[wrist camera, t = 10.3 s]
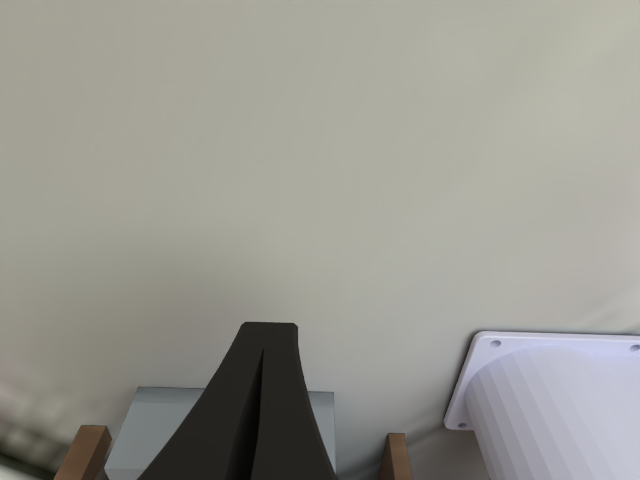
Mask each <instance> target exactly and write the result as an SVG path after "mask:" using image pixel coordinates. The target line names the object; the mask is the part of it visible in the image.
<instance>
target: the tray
mask: <svg viewBox="0 0 640 480" xmlns="http://www.w3.org/2000/svg"><path fill="white" fill-rule="evenodd" d="M204 390H205V389H193V388H158V387H139V388H138V390H137V392H136V395H135V397H134V399H133V402H132V404H131V406H130V409H129V411H128V413H127V416H126V418H125V420H124V423H123V425H122V427H121V430H120V432H119V434H118V437H117V439H116V441H115V444H114V446H113V448H112V451H111V453H110V455H109V458H108V460H107V462H106V465H105V467H104V470H105V472H106V474H107V476H108V478H109V480H137V479H138V477H139V476H140V475H141V474H142V473H143V472H144V470H145V469H146V468H147V467H148V466H149V464H150V463H151V462H152V461H153V459H154V458H155V457H156V456H157V455H158V453H159V452H160V451H161V450H162V448H163V447H164V446H165V444H166V443H167V442H168V441H169V439H170V438H171V437H172V435H173V434H174V433H175V431H176V430H177V429H178V427H179V426H180V424H181V423H182V422H183V420H184V419H185V417H186V416H187V415H188V413H189V412H190V410H191V409H192V408H193V406H194V405H195V403H196V402H197V401H198V399H199V398H200V396H201V395H202V393H203V392H204ZM308 395H309V399H310V403H311V406H312V410H313V413H314V416H315V419H316V422H317V425H318V428H319V431H320V434H321V437H322V440H323V443H324V446H325V448H326V451H327V454H328V456H329V459H330V461H331V464H332V467H333V469H334V472H335V474H336V461H335V427H334V392H308Z"/></svg>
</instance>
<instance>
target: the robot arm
mask: <svg viewBox="0 0 640 480" xmlns="http://www.w3.org/2000/svg"><path fill="white" fill-rule="evenodd" d="M444 424H445V427H446V428H448V429H450V430H474V432H475V435H476V438H477V441H478V444H479V447H480V450H481V453H482V456H483V459H484V462H485V465H486V468H487V471H488V475H489V478H490V480H640V336H624V335H592V334H559V333H527V332H495V331H482V332H479V333H477V334H476V335H475V336H474V338H473V340H472V343H471V346H470V348H469V351H468V354H467V357H466V360H465V362H464V365H463V368H462V371H461V374H460V376H459V379H458V382H457V385H456V387H455V390H454V393H453V396H452V399H451V401H450V404H449V407H448V410H447V412H446V415H445V418H444ZM137 480H338V479H337V477H336V474H335V472H334V469H333V467H332V464H331V461H330V459H329V456H328V454H327V451H326V448H325V446H324V443H323V440H322V437H321V434H320V431H319V428H318V425H317V422H316V419H315V416H314V413H313V410H312V406H311V403H310V399H309V395H308V392H307V388H306V384H305V380H304V376H303V372H302V367H301V361H300V356H299V348H298V326H297V325H295V324H294V323H275V322H245V323H243V324H242V325H241V327H240V329H239V331H238V333H237V335H236V337H235V339H234V341H233V343H232V345H231V347H230V349H229V350H228V352H227V354H226V356H225V358H224V359H223V361H222V363H221V364H220V366H219V368H218V369H217V371H216V373H215V374H214V376H213V377H212V379H211V380H210V382H209V384H208V385H207V387H206V388H205V390H204V392H203V393H202V395H201V396H200V398H199V399H198V401H197V402H196V403H195V405H194V406H193V408H192V409H191V410H190V412H189V413H188V415H187V416H186V417H185V419H184V420H183V422H182V423H181V424H180V426H179V427H178V429H177V430H176V431H175V433H174V434H173V435H172V437H171V438H170V439H169V441H168V442H167V443H166V444H165V446H164V447H163V448H162V450H161V451H160V452H159V453H158V455H157V456H156V457H155V458H154V459H153V461H152V462H151V463H150V464H149V466H148V467H147V468H146V469H145V470H144V472H143V473H142V474H141V475H140V476H139V477H138V479H137Z"/></svg>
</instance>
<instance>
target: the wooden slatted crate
mask: <svg viewBox="0 0 640 480" xmlns="http://www.w3.org/2000/svg"><path fill="white" fill-rule="evenodd" d="M111 440H112V439H111V437H110V435H109V432H108V430H107V428H106V426H81V427H80V429H79V431H78V433H77V435H76V437H75V439H74V441H73V443H72V444H71V446H70V448H69V450H68V452H67V454H66V456H65V458H64V460H63V462H62V464H61V466H60V468H59V470H58V472H57V474H56V475H55V477H54V479H53V480H94V479H95V477H96V475H97V472H98V470H99V468H100V465H101V463H102V461H103V459H104V456H105V454H106V452H107V449H108V447H109V445H110V443H111ZM378 480H413V479H412V474H411V468H410V462H409V457H408V451H407V445H406V440H405V434H392V433H389V434H388V438H387V442H386V446H385V450H384V455H383V459H382V463H381V467H380V471H379V476H378Z"/></svg>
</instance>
